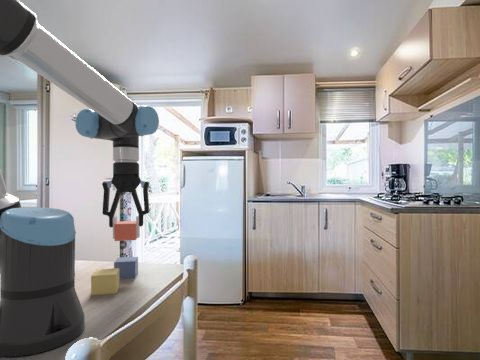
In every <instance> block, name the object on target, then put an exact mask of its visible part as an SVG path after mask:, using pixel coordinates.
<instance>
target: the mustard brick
mask: <svg viewBox="0 0 480 360" xmlns="http://www.w3.org/2000/svg"><path fill="white" fill-rule="evenodd" d="M90 283H91V284H90V294H91V295H90V296H98V295H99V296H100V295H109V294H110V295H111V294H113V295H114V294H117V292H118V290H119V288H120V279H119V268H114V267H113V268H102V269H99V268H98V269H95V270H94V272H93V273H92V274H91V275H90Z"/></svg>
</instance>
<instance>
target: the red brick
mask: <svg viewBox="0 0 480 360" xmlns="http://www.w3.org/2000/svg"><path fill="white" fill-rule="evenodd" d="M137 239H138V238H136V220H126V221H118V220H117V223H115V239H114V241H115V242H121V241H122V242H124V241H127V242H128V241H137Z"/></svg>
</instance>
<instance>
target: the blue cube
mask: <svg viewBox="0 0 480 360" xmlns="http://www.w3.org/2000/svg"><path fill="white" fill-rule="evenodd" d="M113 268H119V280H120V278H122V279H135V278H137V275H138V273H139V256H125V257H124V256H122V257H121V256H120V257H117V258H116V260H115V261H114V262H113Z"/></svg>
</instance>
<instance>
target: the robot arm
mask: <svg viewBox="0 0 480 360" xmlns="http://www.w3.org/2000/svg"><path fill="white" fill-rule="evenodd" d="M1 56H2V57H13V58H14V59H16V60H17V61H18V62H20V63H22V64H23V65H24V66H26V67H27V68H29V69H30V70H32V71H34V72H35V73H36V74H37V75H39V76H41V77H42V78H44V79H46V80H47V81H49V82H50V83H52V84H53V85H54V86H56V87H57V88H59V89H60V90H62V91H63V92H65V93H66V94H67V95H69V96H71V97H72V98H73V99H75V100H77V101H78V102H80V103H81V104H82V105H84V106H85V107H87V108H84V109H82V110H80V111H79V112H78V113H77V115H76V118H75V129H76V131H77V133H78V134H79V135H80V136H82V137H85V138H89V139H96V140H104V141H111V142H112V160H113V164H112V168H113V169H112V174H113V175H112V179H111V180H110V181H103V182H102V184H101V185H102V188H103V196H102V197H103V201H102V215H103V216H107V217H108V226H109V228H112V239H113V240H115V223H117V222H118V216H117V215H116V210H117V208H118V205H119V201H120V199H121V195H122V194H124V193H130V194H131V196H132V200H133V201H134V202H133V203H134V205H135V208H136V212H137V213H138V215H136V217H135V221H136V238H137V239H138V238H140V236H141V230H140V229H141V228H140V227H143V226H144V216H145V215H148V214H149V213H150V201H149V200H150V199H149V185H150V182H149V181H144V180H142V179H141V177H140V164H139V161H140V148H139V147H140V146H139V145H140V143H139V141H140V140H139V138H140V137H144V136H148V135H153V134H154V133H156V132H157V130H158V129H159V124H160V119H159V114H158V112H157V111H156V109H155V107H153V106H150V105H145V104H141V105H138V104H136V103H135V102H134V101H133V100H131V99H130V98H129V97H128V96H127V95H126V94H124V93H123V92H122V91H121V90H120V89H119V88H118V87H116V86H114V85H113V83H111V82H110V81H109V80H107V79H106V78H105V77H104V76H103V75H101V74H100V73H99V72H98V71H97V70H96V69H94V67H92V66H90V65H89V64H88V63H87V62H86V61H84V60H83V59H82V58H80V57H79V56H78V55H77V54H76V53H75V52H73V51H72V50H71V49H70V48H69V47H67V46H66V45H65V44H64V43H62V42H61V41H60V40H59V39H57V37H55V36H54V35H53V34H51V32H49V31H48V30H47V29H45V27H43V26H42V25H41V24H39V21H38V17H37V14H36V13H35V12H34V11H32V10H31V9H30V8H29V7H27V6H26V5H25V4H24V3H23V2H22V1H20V0H0V57H1ZM112 185H113V186H114V188H115V189H116V191H115V193H114V194H115V195H114V198H113V201H112V204H111V207H110V195H111V194H110V192H111V191H110V190H111V188H112ZM139 185H140V186H141V189H142V194H143V206H144V208H142V204H141V202H140V199H139V196H138V192H137V188H138V187H139ZM109 207H110V210H109ZM143 209H144V210H143ZM76 234H77V232H76V229H75V219H74V216H73V215H72V213H70V212H68V211H67V210H65V209H60V208H53V207H42V206H41V207H39V206H38V207H37V206H33V207H31V206H27V207H22V205H21V201H20V199H19V197H18V196H15V195H13V194H11V193H9V191H8V189H7V186H6V182H5V179H4V175H3V172H2V169H1V167H0V357H4V358H7V357H9V358H12V357H23V356H22V355H25V356H29V355H30V354H31V355H35V354H39V353H44V352H47V351H50V350H53V349H56V348H58V347H61V346H63V345H65V344H68V343H70V342H71V341H73V340H75V339H76V338H78V337H79V336H80V335H81V334H82V333H83V331H84V330H85V326H86V325H85V323H86V322H85V319H86V316H85V313H84V310H83V307H82V303H81V301H80V299H79V296H78V293H77V291H76V289H75V287H76V286H75V280H76V279H75V277H76V268H75V267H76V263H75V261H76V260H75V259H76V257H75V256H76Z"/></svg>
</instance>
